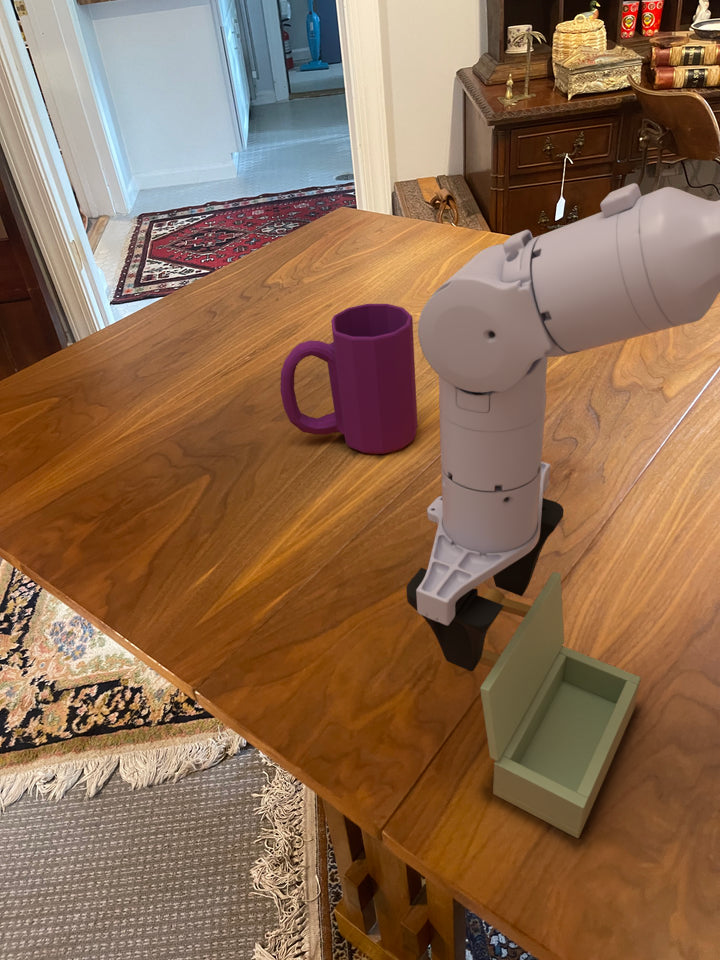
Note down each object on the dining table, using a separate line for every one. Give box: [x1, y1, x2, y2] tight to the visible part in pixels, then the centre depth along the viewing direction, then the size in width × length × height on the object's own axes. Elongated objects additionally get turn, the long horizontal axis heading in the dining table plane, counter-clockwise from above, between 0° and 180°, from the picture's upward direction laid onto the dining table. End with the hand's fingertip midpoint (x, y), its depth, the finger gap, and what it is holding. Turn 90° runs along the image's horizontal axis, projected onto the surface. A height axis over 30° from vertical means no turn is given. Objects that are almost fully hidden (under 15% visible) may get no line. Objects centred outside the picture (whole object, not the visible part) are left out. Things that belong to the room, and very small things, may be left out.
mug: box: [280, 303, 418, 455], centre depth 84 cm, size 9×16×15 cm, turn 95°
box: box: [492, 645, 642, 839], centre depth 52 cm, size 6×12×4 cm, turn 146°
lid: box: [478, 571, 565, 761], centre depth 51 cm, size 7×12×5 cm
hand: (487, 623), depth 50 cm, fingers open, 7 cm apart
